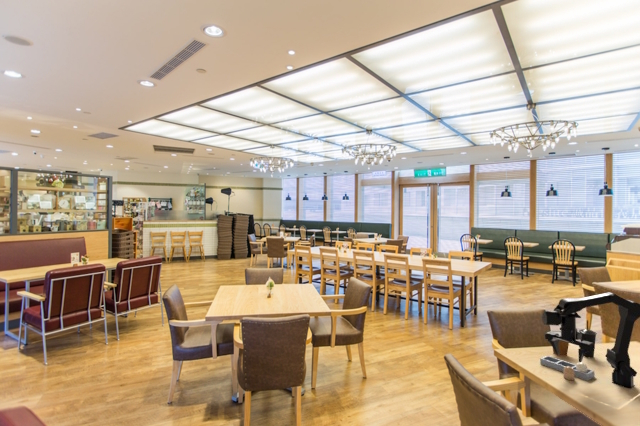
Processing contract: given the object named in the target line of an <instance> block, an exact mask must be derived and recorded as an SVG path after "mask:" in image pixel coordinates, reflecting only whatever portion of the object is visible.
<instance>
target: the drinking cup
mask: <svg viewBox="0 0 640 426" xmlns="http://www.w3.org/2000/svg"><path fill="white" fill-rule="evenodd" d="M578 332H580V333H582V337H581V340H580V342H581V341H588V342H592V343H593V344H594V345H595V346H596V339H597V338H596V337H597V332H596V331H593V330H592V329H589V320H586V328H583V329H579V330H578ZM594 356H595V349H594V350H591V351H588V352H586V353H585V355H584V357H586V358H588V357H590V359H593V358H594Z"/></svg>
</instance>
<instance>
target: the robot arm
mask: <svg viewBox="0 0 640 426" xmlns="http://www.w3.org/2000/svg"><path fill="white" fill-rule="evenodd" d="M610 303H612V304H614V305H616V306H618V309H617V310H618V314H619V316H620V318H619V323H618V327H617V330H616V337H615V341H614V344H613V345H614V346H613V347H612V348H611V349H609V348H607V349H606V354H605V357H606V359H605V360H606V362H607V363H608V364H609V365H610V367H611V368H612V369H613V371H612V372H611V381H612V382H611V383H612V384H614V385H616V386H620V387H623V388H626V389H628V390H631V389H633V388H634V387H635V386H636V384H634V382H635V381H634V377H636V376H637V373H638V372H637V371H636V370H635V369H634V368H633V367H632V366H631V358H630V355H629V347H630V343H631V340H632V335H633V330H634V327H635V323H636V321H637V320H639V318H640V303H638V302H635V301H634V300H633V301H632V300H631V299H630V300H629V299H627V298H626V299H625V298H623V297H621V296H619V295H618V294H616V293H613V292H608V291H607V292H604V293H599V294H595V295H591V296H585V297H580V298H573V297H571V298H570V297H569V298H567V297H566V298H561V299H560V300H559V302H558V304H557V305H556V307H554V309H553V310H548V309H545V310H543V313H542V314H541V320H542V323H543V325H545V326H547V325H548V326H559V325H560V327H559V331H561V336H559V334H558V333H555V332H551V331H552V330H551V331H548V332H545V333H544V339H545V340H547V342H549V344H550V345H551V347H552V349H553V348H554V350H555V352H556V354H555V355H556V356H560V355H559V340H561V341H564V342H568V343H569V344H573V345H576V346H578V349H577V350H578V351H577V352H578V363H579V362H580V363H581V362H582V363H583V360H584V357H585V356H584V355H585V353H586V352H588V351H591V350H594V351H595V349H596V344H595V345H594V344H593V343H592V342H588V341H581V337H582V333H580V332H579V331H578V328H577V323H576V322H577V321H576V319H582V316H581V315H579V314H578V312H580V311H582V310H583V309H586V308H589V307H595V306H596V307H597V306H600V305H606V304H610ZM579 340H580V341H579Z"/></svg>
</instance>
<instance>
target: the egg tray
mask: <svg viewBox="0 0 640 426" xmlns="http://www.w3.org/2000/svg"><path fill="white" fill-rule="evenodd" d="M539 359H540V361H539V363H540V365H542V366H545V367H547V368H551V369H553V370H557V371H559V372H562V373H564V367H566V366H569V367H571V368H573V369H574V372H575V377H576V378H579V379H581V380H584V381H590V380H591V379H593V378H595V376H596V375H595V370H593V369H590V368H587V373H583V372H581V371H578V370H576V363H575V364H574V363H571V362H569V361H565V360H562V359H559V358H556V357H553V356H550V355H546V356H542V357H540V358H539Z"/></svg>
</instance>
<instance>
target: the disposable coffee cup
mask: <svg viewBox="0 0 640 426" xmlns="http://www.w3.org/2000/svg"><path fill="white" fill-rule="evenodd" d="M551 332H555V333H558V334H559V336H561V330H551ZM569 344H570V343H568V342H564V341H561V340H559V355H558V356H564V357H568V353H569V352H568V350H569ZM552 352H553V353H552V354H554V355H557V354H556V352H555V350H554V348H553V347H552Z"/></svg>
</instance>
